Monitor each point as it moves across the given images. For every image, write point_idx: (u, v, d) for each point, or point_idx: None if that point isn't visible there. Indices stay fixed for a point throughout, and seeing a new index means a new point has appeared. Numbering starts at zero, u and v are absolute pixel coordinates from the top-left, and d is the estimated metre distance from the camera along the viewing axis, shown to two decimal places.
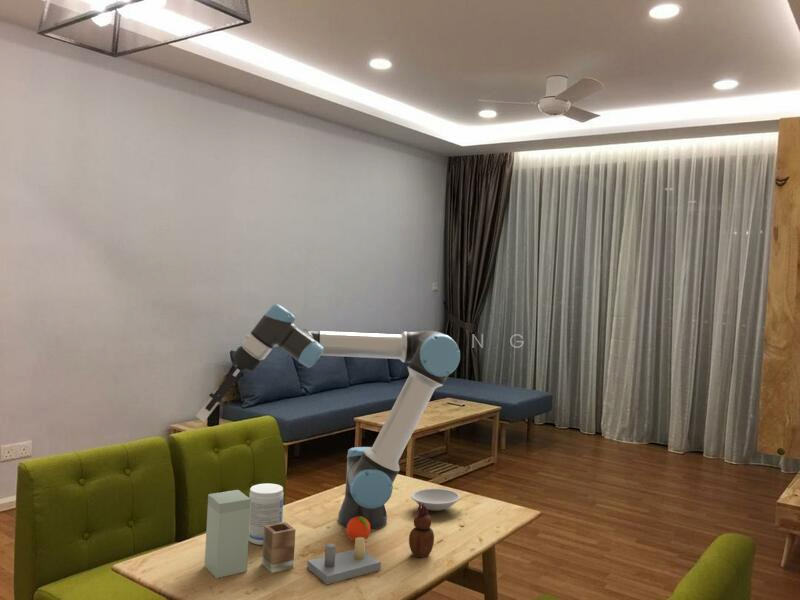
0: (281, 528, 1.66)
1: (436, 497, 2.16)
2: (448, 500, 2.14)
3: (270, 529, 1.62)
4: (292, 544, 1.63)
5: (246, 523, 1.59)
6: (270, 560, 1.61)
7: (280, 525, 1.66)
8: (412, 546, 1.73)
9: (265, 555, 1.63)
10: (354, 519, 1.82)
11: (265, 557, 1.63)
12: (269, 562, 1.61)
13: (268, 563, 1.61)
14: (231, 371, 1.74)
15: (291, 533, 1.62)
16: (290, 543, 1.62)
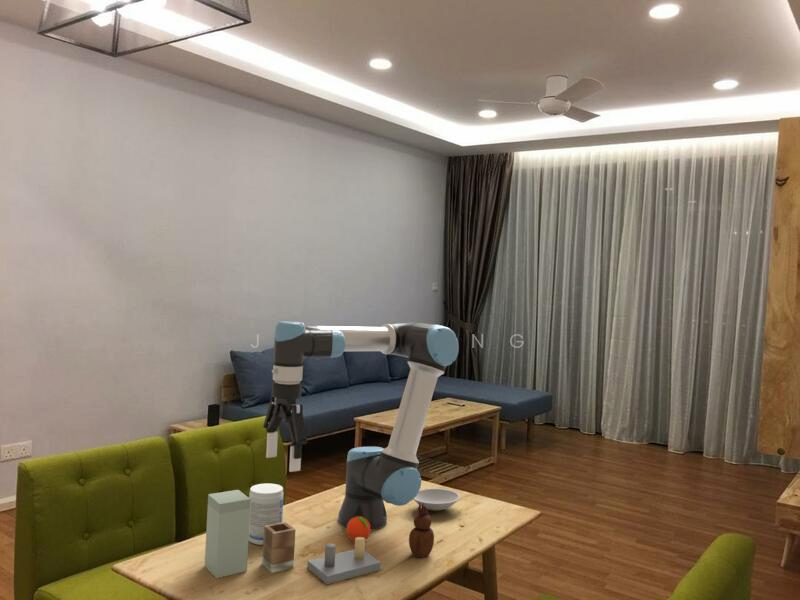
0: (281, 528, 1.66)
1: (436, 497, 2.16)
2: (448, 500, 2.14)
3: (270, 529, 1.62)
4: (292, 544, 1.63)
5: (246, 523, 1.59)
6: (270, 560, 1.61)
7: (280, 525, 1.66)
8: (412, 546, 1.73)
9: (265, 555, 1.63)
10: (354, 519, 1.82)
11: (265, 557, 1.63)
12: (269, 562, 1.61)
13: (268, 563, 1.61)
14: (285, 411, 1.60)
15: (291, 533, 1.62)
16: (290, 543, 1.62)
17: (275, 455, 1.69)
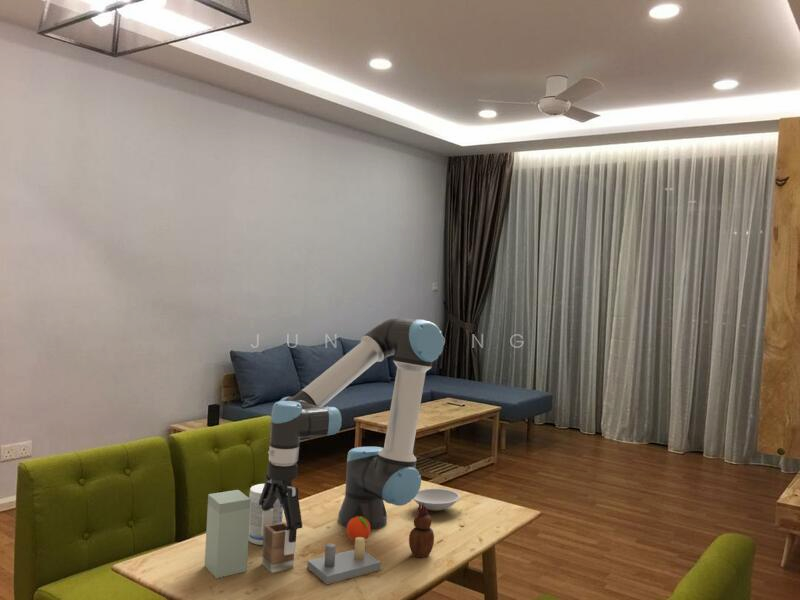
0: (281, 528, 1.66)
1: (436, 497, 2.16)
2: (448, 500, 2.14)
3: (270, 529, 1.62)
4: None
5: (246, 523, 1.59)
6: (270, 560, 1.61)
7: (280, 525, 1.66)
8: (412, 546, 1.73)
9: (265, 555, 1.63)
10: (354, 519, 1.82)
11: (265, 557, 1.63)
12: (269, 562, 1.61)
13: (268, 563, 1.61)
14: (281, 492, 1.61)
15: None
16: None
17: None
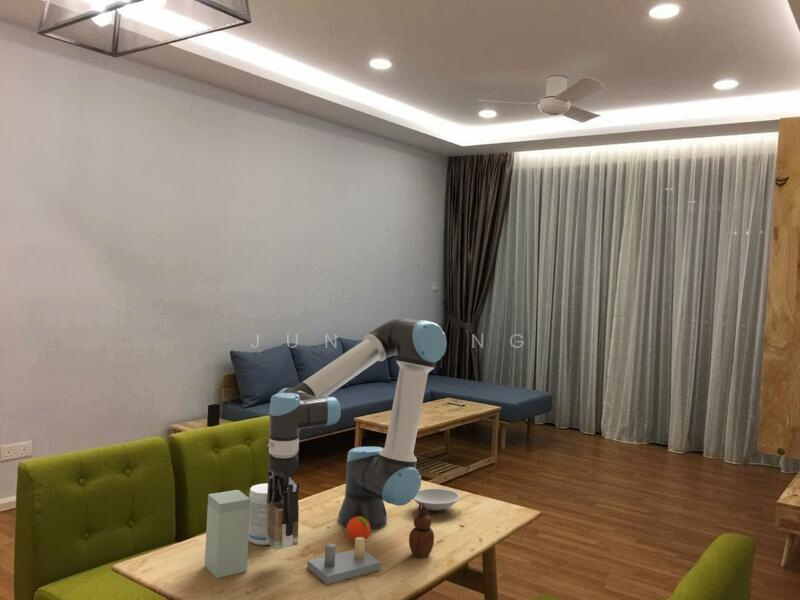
0: None
1: (436, 497, 2.16)
2: (448, 500, 2.14)
3: (273, 507, 1.62)
4: None
5: (246, 523, 1.59)
6: (274, 537, 1.61)
7: None
8: (412, 546, 1.73)
9: (269, 533, 1.63)
10: (354, 519, 1.82)
11: (269, 535, 1.64)
12: (273, 539, 1.62)
13: (272, 541, 1.62)
14: (282, 485, 1.61)
15: None
16: None
17: None
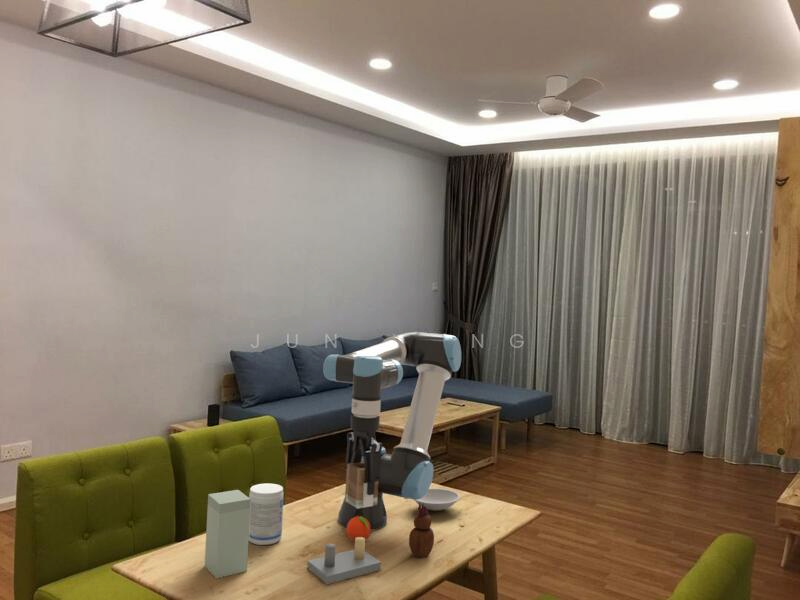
0: (363, 467, 1.69)
1: (436, 497, 2.16)
2: (448, 500, 2.14)
3: (354, 466, 1.65)
4: None
5: (246, 523, 1.59)
6: (355, 496, 1.63)
7: (362, 464, 1.69)
8: (412, 546, 1.73)
9: (349, 492, 1.66)
10: (354, 519, 1.82)
11: (349, 495, 1.66)
12: (354, 498, 1.64)
13: (353, 500, 1.64)
14: (364, 445, 1.64)
15: None
16: None
17: None
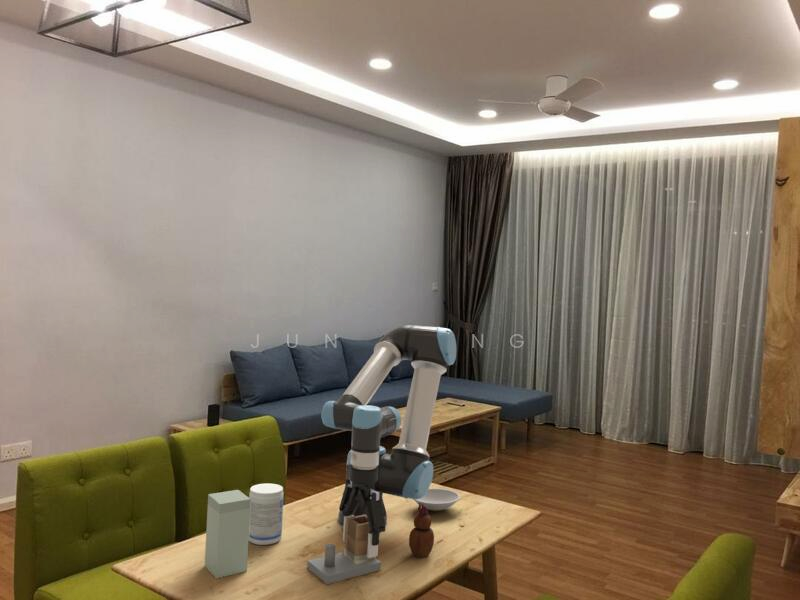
0: (362, 521, 1.69)
1: (436, 497, 2.16)
2: (448, 500, 2.14)
3: (353, 521, 1.65)
4: None
5: (246, 523, 1.59)
6: (354, 552, 1.64)
7: (361, 518, 1.69)
8: (412, 546, 1.73)
9: (348, 547, 1.66)
10: None
11: (347, 549, 1.66)
12: (352, 553, 1.64)
13: (352, 555, 1.65)
14: (364, 496, 1.64)
15: None
16: None
17: None
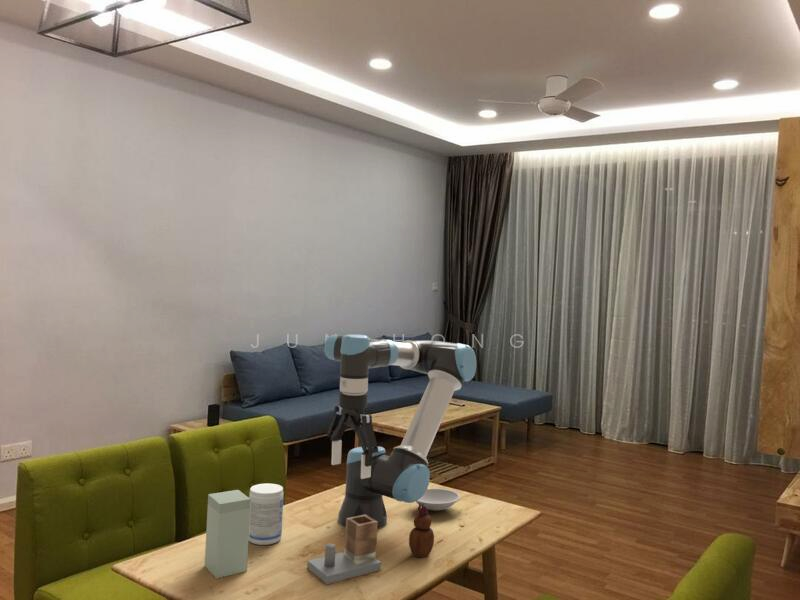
0: (362, 521, 1.69)
1: (436, 497, 2.16)
2: (448, 500, 2.14)
3: (353, 521, 1.65)
4: (374, 536, 1.66)
5: (246, 523, 1.59)
6: (354, 552, 1.64)
7: (361, 518, 1.69)
8: (412, 546, 1.73)
9: (348, 547, 1.66)
10: None
11: (347, 549, 1.66)
12: (352, 553, 1.64)
13: (352, 555, 1.65)
14: (354, 420, 1.67)
15: (374, 525, 1.66)
16: (373, 535, 1.66)
17: (339, 462, 1.76)
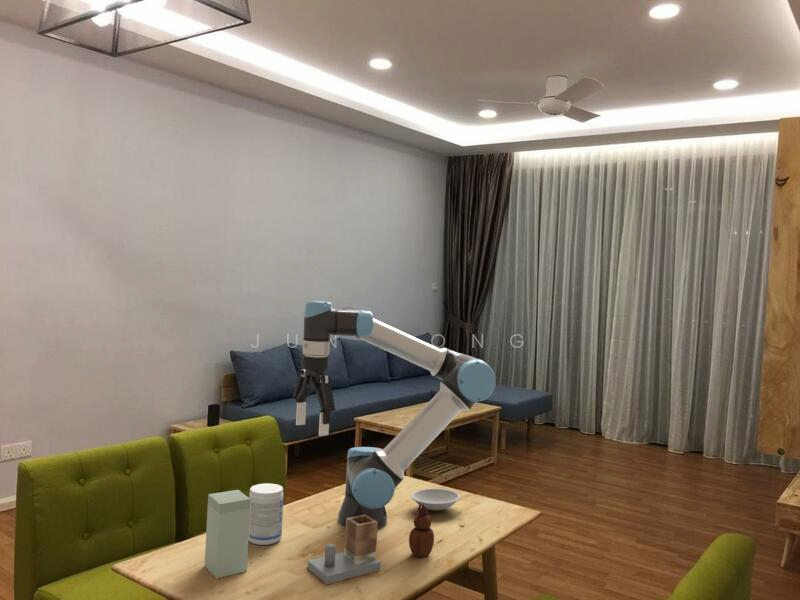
0: (362, 521, 1.69)
1: (436, 497, 2.16)
2: (448, 500, 2.14)
3: (353, 521, 1.65)
4: (374, 536, 1.66)
5: (246, 523, 1.59)
6: (354, 552, 1.64)
7: (361, 518, 1.69)
8: (412, 546, 1.73)
9: (348, 547, 1.66)
10: None
11: (347, 549, 1.66)
12: (352, 553, 1.64)
13: (352, 555, 1.65)
14: (314, 381, 1.77)
15: (374, 525, 1.66)
16: (373, 535, 1.66)
17: (304, 423, 1.86)
